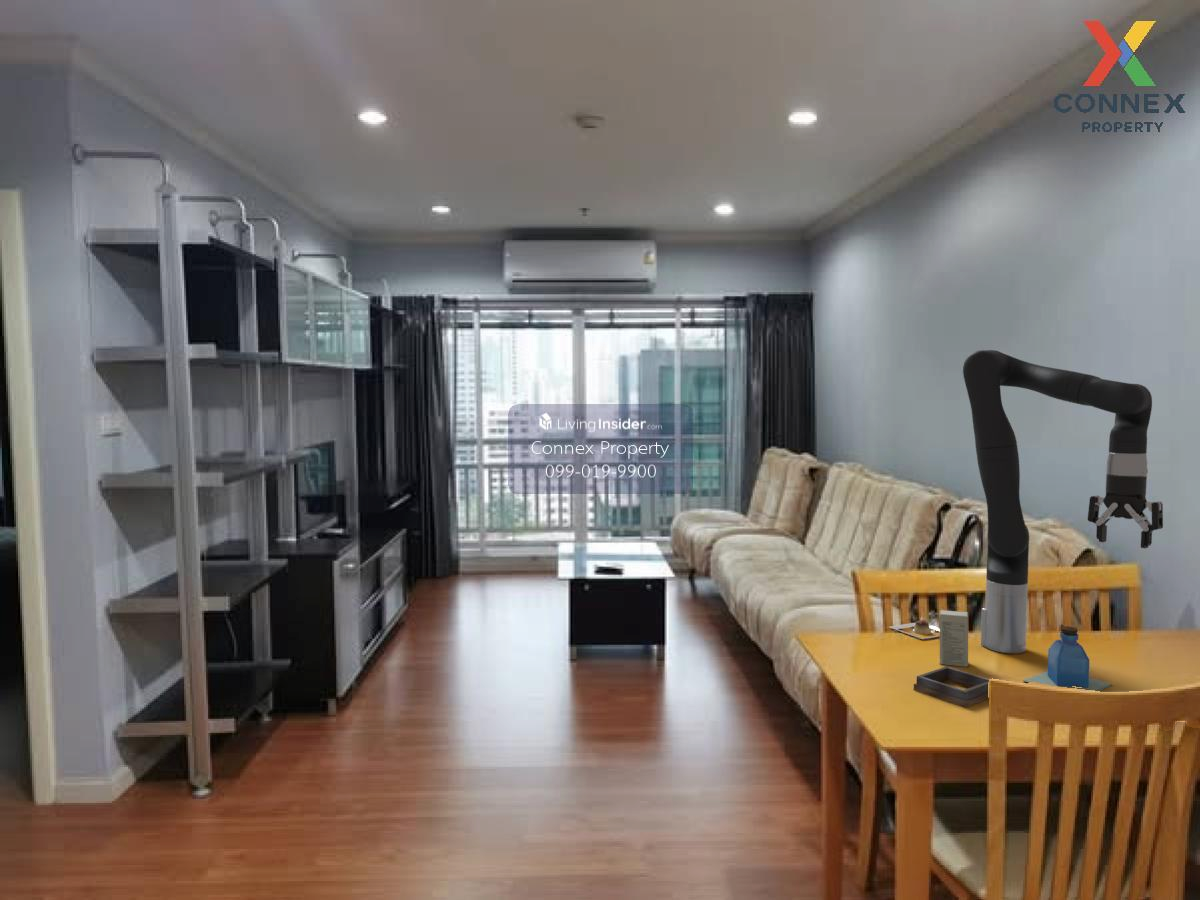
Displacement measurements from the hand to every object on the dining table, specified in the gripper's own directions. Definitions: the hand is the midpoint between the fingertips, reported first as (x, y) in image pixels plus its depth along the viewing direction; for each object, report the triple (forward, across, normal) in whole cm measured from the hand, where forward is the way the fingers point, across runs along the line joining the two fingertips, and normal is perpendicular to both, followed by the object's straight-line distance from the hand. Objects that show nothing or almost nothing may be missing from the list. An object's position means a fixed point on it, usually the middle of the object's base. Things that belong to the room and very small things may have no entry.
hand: (1123, 544), depth 177 cm
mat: (+30, -4, -15) cm, 34 cm away
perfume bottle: (+30, -4, -15) cm, 33 cm away
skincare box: (+30, -26, -23) cm, 46 cm away
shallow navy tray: (+30, -15, -40) cm, 52 cm away
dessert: (+31, -45, -6) cm, 55 cm away
